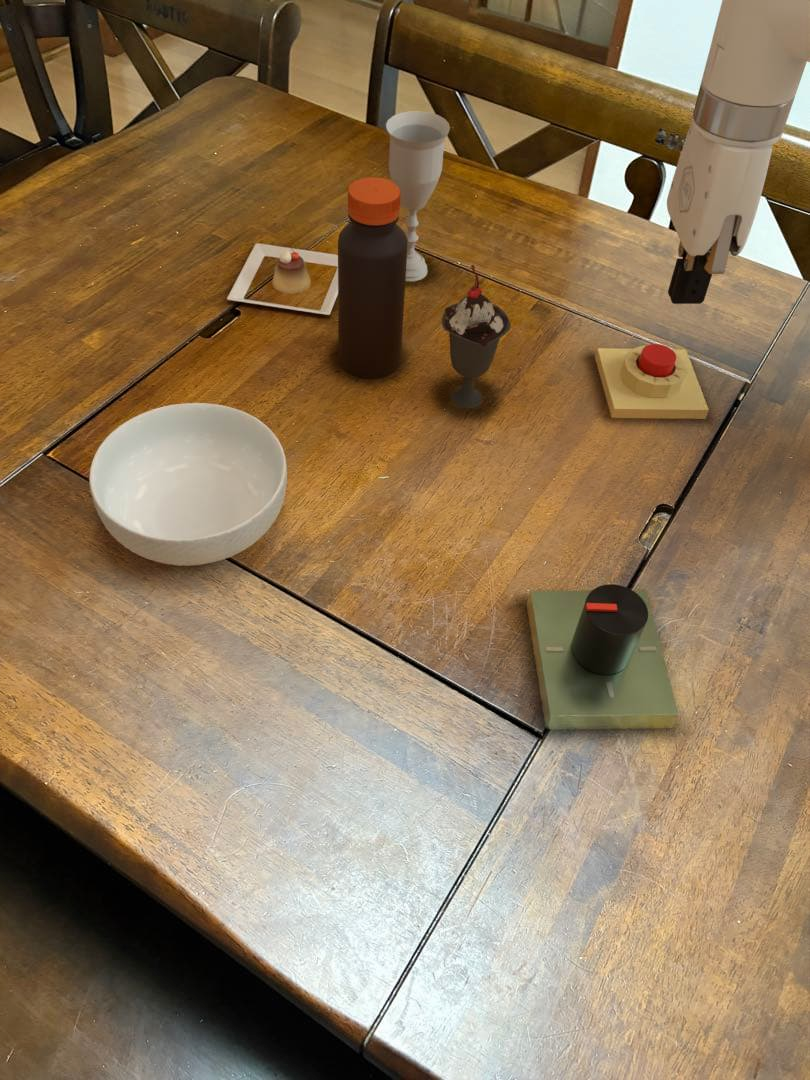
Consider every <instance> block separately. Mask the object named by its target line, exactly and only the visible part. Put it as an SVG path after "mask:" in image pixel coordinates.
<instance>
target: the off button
mask: <svg viewBox="0 0 810 1080" xmlns="http://www.w3.org/2000/svg"><path fill="white" fill-rule="evenodd" d="M675 361H676V354H675V352H674V351H673V350H672V348H671V347H669V346H666V345H663V344H659V343H652V344H651V343H650V344H646V346H645V347H644V348H643V350H642V352H641V356H640V359H639V362H638V368H639V369H640V370H641V371H642V372H643V373H644V374H647V375H650V376H652V377H658V378H665V377H668V376H669V375H670V374H671V373H672V370H673V367H674V364H675Z"/></svg>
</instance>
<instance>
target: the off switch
mask: <svg viewBox="0 0 810 1080" xmlns="http://www.w3.org/2000/svg"><path fill="white" fill-rule="evenodd" d="M645 346H647V344H646V345H643V344H642V345H639V346H637V347H634V348H621V347H619V348H618V347H617V348H616V347H615V348H614V347H597V348H596V351H595V356H594V359H595V363H596V366H597V370H598V373H599V378H600V381H601V384H602V388H603V391H604V395H605V399H606V403H607V406H608V409H609V414H610V417H611V419H677V420H680V419H683V420H685V419H686V420H689V419H690V420H705V419H707V416H708V413H709V411H710V409H709V406H708V404H707V402H706V399H705V395H704V394H703V393H704V392H703V391H702V387H701V385H700V383H699V381H698V380H699V379H698V377H697V374H696V372H695V370H694V366H693V365H692V362H691V359H690V356H689V354H688V351H687V349H683V348H682V349H678V348H677V349H676V348H675V349H672V348H671V349H672V350H673V351H674V352H675V354H676V361H675V364H674V367H673V370H672V373H671V374H670V375H669V376H668V377H665V378H658V377H652V376H650V375H647V374H644V373H643V372H642V371H641V370H640V369H639V368H638V362H639V359H640V356H641V352H642V350H643V348H644V347H645Z"/></svg>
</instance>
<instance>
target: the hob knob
mask: <svg viewBox="0 0 810 1080" xmlns="http://www.w3.org/2000/svg"><path fill="white" fill-rule="evenodd" d="M590 591H591V592H590V593H589V595H588V596H587V598H586V601H585V604H584V607H583V610H582V613H581V616H580V619H579V622H578V624H577V627H576V630H575V633H574V636H573V639H572V651H573V654H574V656H575V658H576V659H577V661H578V662H579V663H580V664H581V665H582V666H583V667H585V668H586V669H588V670H590V671H592V672H594V673H598V674H604V675H609V674H615V673H618V672H620V671H622V670H623V669H624V668H625V667H626V666H627V665H628V664H629V662H630V659H631V657H632V655H633V653H634V650H635V648H636V646H637V643H638V641H639V639H640V637H641V634H642V632H643V630H644V628H645V625H646V623H647V620H648V609H647V606H646V604H645V602H644V601H643V599H642V598H641V597H640V596H639V595H638V594H637V593H635V592H634V591H635V590H633V589H631V588H629V587H626V586H624V585H620V584H613V583H612V584H609V583H607V584H602V585H599V586H597V587H594V588H593V589H592V590H590Z"/></svg>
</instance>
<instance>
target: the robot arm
mask: <svg viewBox="0 0 810 1080" xmlns="http://www.w3.org/2000/svg"><path fill="white" fill-rule="evenodd" d="M807 63H810V0H721V4H720V7H719V11H718V16H717V19H716V24H715V28H714V30H713V35H712V39H711V43H710V47H709V51H708V55H707V59H706V62H705V65H704V70H703V74H702V77H701V80H700V84H699V89H698V93H697V97H696V100H695V104H694V108H693V112H692V113H693V114H692V115H691V119H690V126H689V129H688V131H687V134H686V136H685V139H684V142H683V145H682V148H681V151H680V155H679V158H678V161H677V164H676V168H675V170H674V174H673V177H672V180H671V184H670V187H669V190H668V195H667V199H666V209H667V213H668V216H669V218H670V220H671V222H672V226H673V227H674V230H675V232H676V235H677V236H678V238H679V244H678V249H677V256H678V258H676V262H675V265H674V268H673V272H672V275H671V278H670V282H669V286H668V289H667V294H668V296H669V299H670V302H671V304H674V305H700V304H702V303H704V302H705V300H706V299H705V298H706V295H707V292H708V289H709V286H710V283H711V280H712V277H713V275H724V273H725V271H726V267H727V263H728V257H729V254H730V255H731V256H733V257H737V256H738V255H739V254H741V252H742V251H743V249H744V248H745V246H746V243H747V242H748V238H749V237H750V233H751V230H752V227H753V224H754V221H755V218H756V214H757V211H758V209H759V205H760V201H761V197H762V193H763V190H764V186H765V182H766V178H767V174H768V170H769V166H770V161H771V157H772V152H773V146H774V144H777V143H778V142H779V141H780V140H781V139H782V136H783V133H784V130H785V128H786V124H787V122H788V119H789V115H790V113H791V110H792V107H793V104H794V101H795V98H796V94H797V92H798V89H799V86H800V83H801V80H802V78H803V74H804V71H805V68H806V66H807Z"/></svg>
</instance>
